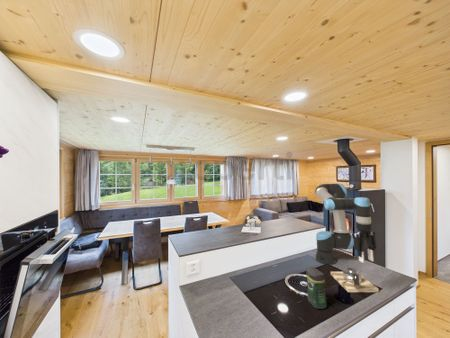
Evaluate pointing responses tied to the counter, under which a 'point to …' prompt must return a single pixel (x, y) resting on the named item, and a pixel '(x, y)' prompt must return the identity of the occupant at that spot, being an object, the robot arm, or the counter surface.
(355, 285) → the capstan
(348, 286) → the stand
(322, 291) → the coffee jar
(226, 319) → the counter surface
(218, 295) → the counter surface
